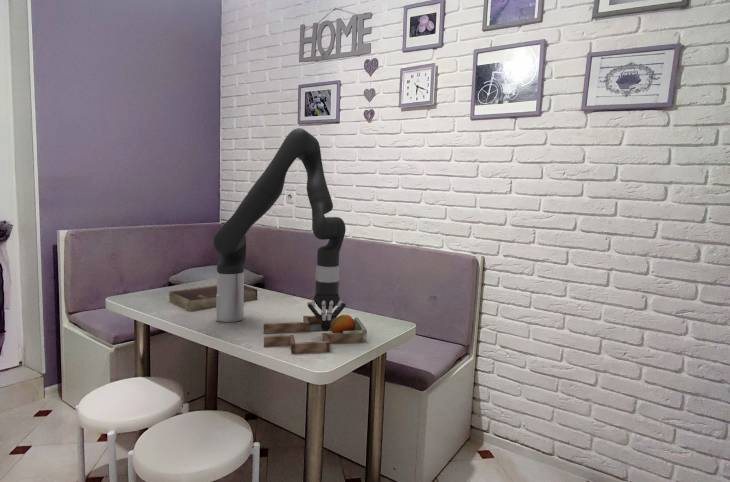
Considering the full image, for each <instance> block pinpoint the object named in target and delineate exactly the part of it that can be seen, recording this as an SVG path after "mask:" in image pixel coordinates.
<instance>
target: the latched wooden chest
mask: <svg viewBox="0 0 730 482" xmlns="http://www.w3.org/2000/svg"><path fill="white" fill-rule="evenodd" d="M216 295H217V284H213V285H212V284H211V285H206V286H201V287H200V286H198V287H192V288H186V289H185V288H184V289H178V290H171V291H169V295H168V296H169V302H170V301H171V302H170V303H172V302H173V303H172V304H174V305H176V306H178V307H180V308H181V307H182V308H181V309H183V308H184V310H185V309H186V310H185V311H187V310H188V312H189V311H190V313H191V311H192V312H197V311H202V310H203V311H204V310H207V309H214V308H216ZM257 300H258V289H257V288H255V287H253V286H252V287H250V286H249V285H244V303H246V302H251V301H257Z"/></svg>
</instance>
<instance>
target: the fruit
mask: <svg viewBox="0 0 730 482" xmlns="http://www.w3.org/2000/svg"><path fill="white" fill-rule="evenodd" d="M353 319H354V318H353V317H352V316H351V315H349V314H341V315H340V314H339V315H338V316H337V318H335V319H334V320H333V321H332V323H331V329H332V331H331V333H343V331H355V330H354V328H355V322H354V320H353Z"/></svg>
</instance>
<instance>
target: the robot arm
mask: <svg viewBox="0 0 730 482" xmlns="http://www.w3.org/2000/svg"><path fill="white" fill-rule="evenodd" d="M296 159H299V160H301V163H302V164H303V167H304V169H305V172H306V179H307V180H306V193H307V197H308V201H309V205H310V208H311V230H312V233H313V235H314V237H315V238H316V239H318V240H321V241H322V240H328V242H327V243H326V244H325V245H323V246H320V247H318V249H317V253H316V257H317V258H316V270H315V291H314V295H313V299H312V300H311V301H308V302H307V304H306V305H307V307H308V309H309V310H310V312H311V313H312V314H313V316H316V317H317V319H321V328H322V330H323V331H322V332H329V331H328V330H330V322H331V319H333V318H334V319H335V318H336V317H338V316H340V314H341V312H342V311H343V310H344V309H345V307H346V303H345V302H344V301H342V300H341V297H340V294H339V293H340V292H339V288H340V286H339V285H340V267H339V265H340V264H339V263H340V251H341V249H342V246H343V242H344V239H345V235H346V224H345V222H344V219H343V218H341V217H339V216H332V217H331V216H327V217H326V216H325V214H328V213H330V212H331V211H333V209H334V203H333V200H332V197H331V193H330V191H329V189H328V184H327V181H326V177H325V173H324V172H325V171H324V166H323V161H322V151H321V147H320V143H319V141H318V139H317V138H316V137H315V136H314V135H312V134H311V133H309V132H308V131H307V130H306V129H305V128H300V127H298V128H294V129H292V130H291V131H290V132H289V133H288V134H287V135H286V137H285V138H284V140H283V142H282V143H281V145H280V147H279V148H278V150H277V152H276V153H275V155H274V157H273V158H272V160H271V161H270V162H269V164H268V165H267V167H266V168H265V170H264V171H263V172H262V173H261V175H260V176H259V178H258V179H257V180H256V182H255V183H254V184H253V186H251V188H250V190H249V191H248V192H247V194H246V195H245V197H244V198H243V199H242V201H241V203H240V204H239V205H238V207H237V208H236V210H235V212H234V213H233V214H232V215H231V217H230V218H228V220H226V222H225V223H224V224H223V225H222V226H221V227H220V228H219V229H218V230H217V232H216V233H215V235H214V237H213V247H214V250H216V252H218V253H219V254H220V258H219V260H218V263H216V285H217V295H216V307H215V312H216V320H215V321H216V322H223V323H233V322H234V323H235V322H238V321H241V320H243V319H244V317H245V316H244V315H245V308H244V307H245V302H244V284H245V281H244V280H245V277H244V275H245V264H246V257H247V237H246V234H247V232H248V231H249V230H251V229H250V228H251V227H252V226H254V225H255V223H257V222H258V221H259V220H260V219H261V218H262V217H263V216H264V215H265V214H266V213H267V212H268V211H269V210H270V209H271V208H272V207H273V206H274V205H275V203H276V202H277V201H278V199H279V198H280V197H281V195H282V193H283V190H284V186H285V182H286V177H287V173H288V171H289V169H290V167H291V166H292V165H293V163H294V162H295V161H296ZM316 305H317V307H318V309H319V310H320V313H319V312H318V310H317V309H316ZM336 306H337V307H336ZM335 307H336V308H335ZM334 309H335V310H334ZM333 310H334V311H333Z"/></svg>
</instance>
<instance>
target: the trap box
mask: <svg viewBox="0 0 730 482" xmlns="http://www.w3.org/2000/svg"><path fill="white" fill-rule="evenodd" d="M337 317H338V316H337ZM337 317H336V318H337ZM302 318H303V321H299V322H298V321H297V322H292V321H291V322H271V323H269V322H268V323H263V329H262V330H263V334H277V335H263V347H264V348H265V347H266V348H267V347H268V348H269V347H284V346H285V347H287V346H289V349H290V354H291V355H298V354H299V355H301V354H321V353H331V345H333V344H335V345H336V344H352V343H354V344H355V343H367V337H368V336H367V335H368V333H367V331H368V330H367V328H366V327H365V325H364V324H363V323H362V322H361V319H360V318H359V317H354V318H353V320H354V322H355V328H354V331H343V333H333V332H332V329H331V323H332V321H333V320H334V318H333V319H331V322H330V330H328V331H327V332H328V333H326V332H325V333H322V337H321V339H322V340H321V341H307V342H306V341H304V342H303V341H302V342H300V341H298V342H296V340H295V339H296V338H295V335H294V334H286V333H303V332H304V333H307V332H310V333H311V332H324V331H323V330H322V328H321V319H317V317H316V316H315V315H303V317H302ZM281 333H285V334H282V335H281Z"/></svg>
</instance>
